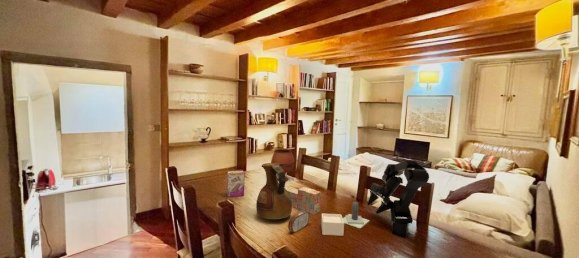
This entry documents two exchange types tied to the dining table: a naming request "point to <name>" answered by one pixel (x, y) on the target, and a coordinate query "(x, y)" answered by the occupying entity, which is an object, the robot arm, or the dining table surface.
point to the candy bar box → (235, 183)
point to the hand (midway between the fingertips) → (371, 209)
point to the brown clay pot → (283, 159)
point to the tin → (298, 221)
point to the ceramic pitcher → (274, 194)
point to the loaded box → (332, 224)
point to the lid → (354, 215)
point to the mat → (356, 224)
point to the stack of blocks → (305, 199)
